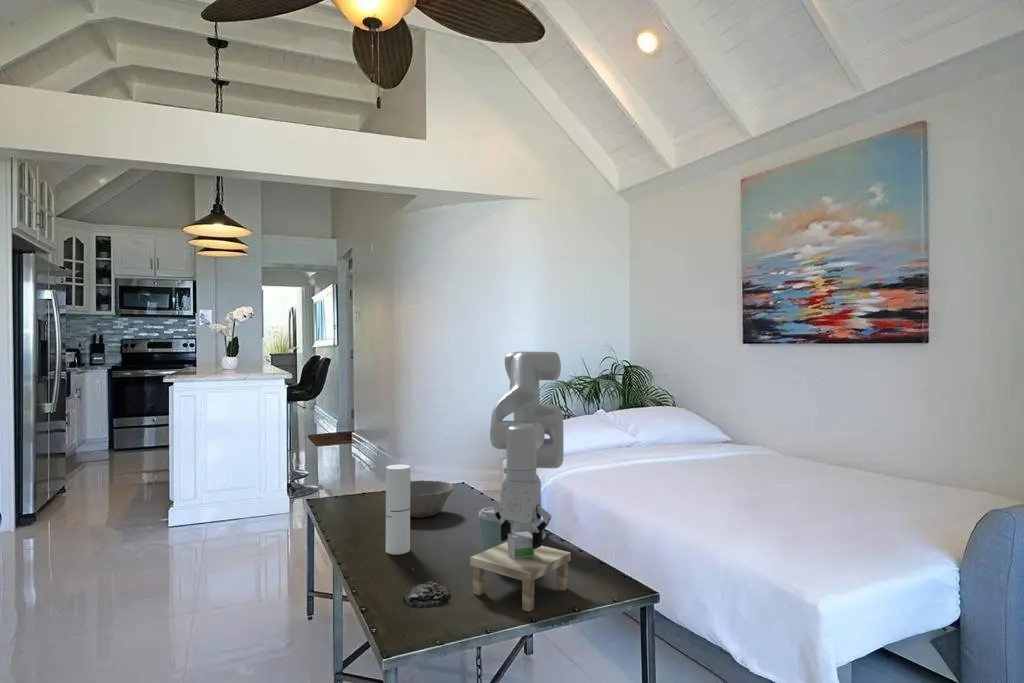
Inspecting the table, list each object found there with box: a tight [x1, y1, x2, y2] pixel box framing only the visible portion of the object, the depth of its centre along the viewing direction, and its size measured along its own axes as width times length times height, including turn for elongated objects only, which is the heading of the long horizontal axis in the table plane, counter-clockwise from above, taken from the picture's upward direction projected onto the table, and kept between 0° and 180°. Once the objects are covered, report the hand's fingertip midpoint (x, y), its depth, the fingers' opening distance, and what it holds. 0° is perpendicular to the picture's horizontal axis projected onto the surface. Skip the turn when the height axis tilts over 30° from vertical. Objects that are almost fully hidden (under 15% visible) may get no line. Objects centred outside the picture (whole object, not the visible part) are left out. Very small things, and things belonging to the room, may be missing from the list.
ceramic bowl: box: [410, 480, 455, 519], centre depth 220 cm, size 22×23×10 cm
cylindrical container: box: [385, 464, 411, 555], centre depth 181 cm, size 7×7×25 cm
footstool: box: [469, 541, 572, 612], centre depth 151 cm, size 18×18×9 cm
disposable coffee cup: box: [478, 506, 514, 552], centre depth 172 cm, size 11×11×15 cm
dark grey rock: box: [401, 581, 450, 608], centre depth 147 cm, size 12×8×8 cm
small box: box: [508, 532, 535, 559], centre depth 151 cm, size 6×6×5 cm
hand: (521, 543), depth 151 cm, fingers open, 9 cm apart
